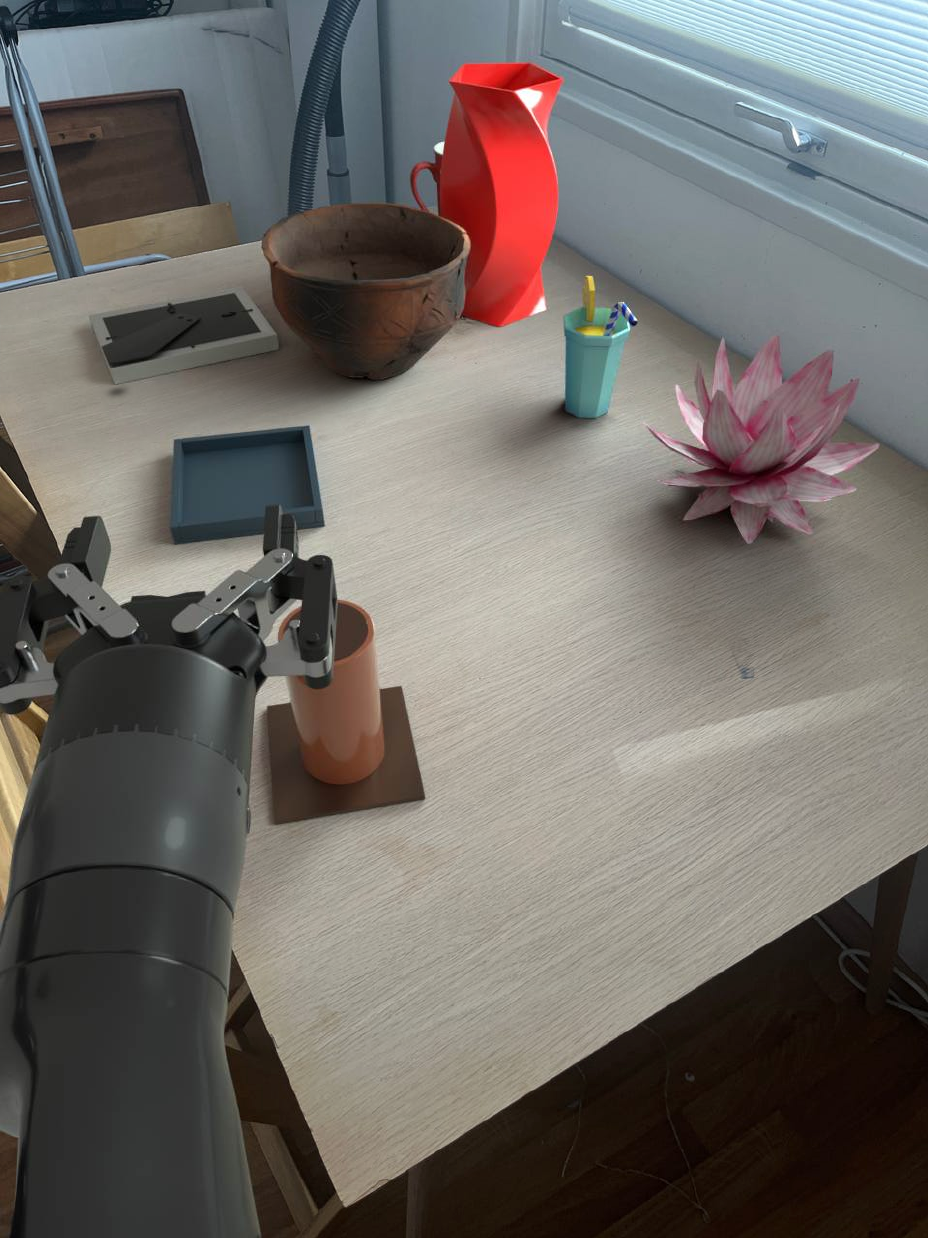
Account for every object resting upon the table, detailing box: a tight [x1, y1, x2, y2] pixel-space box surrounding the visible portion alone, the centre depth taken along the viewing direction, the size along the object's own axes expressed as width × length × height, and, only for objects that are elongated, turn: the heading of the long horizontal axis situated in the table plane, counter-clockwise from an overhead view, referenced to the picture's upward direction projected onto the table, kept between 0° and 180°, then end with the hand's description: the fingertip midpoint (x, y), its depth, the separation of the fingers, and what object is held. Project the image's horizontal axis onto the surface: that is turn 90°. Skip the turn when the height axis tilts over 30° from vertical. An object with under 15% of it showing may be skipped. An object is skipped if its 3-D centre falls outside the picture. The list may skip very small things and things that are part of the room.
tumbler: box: [277, 599, 385, 785], centre depth 63 cm, size 6×6×13 cm
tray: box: [169, 424, 326, 545], centre depth 91 cm, size 15×16×2 cm
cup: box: [562, 275, 639, 419], centre depth 98 cm, size 14×8×15 cm, turn 20°
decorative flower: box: [643, 333, 880, 544], centre depth 86 cm, size 21×21×15 cm
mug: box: [409, 140, 445, 216], centre depth 135 cm, size 13×9×14 cm
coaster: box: [266, 685, 426, 825], centre depth 68 cm, size 11×11×1 cm
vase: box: [440, 62, 564, 328], centre depth 114 cm, size 15×14×28 cm
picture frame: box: [88, 286, 280, 385], centre depth 114 cm, size 16×3×21 cm
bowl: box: [260, 202, 470, 381], centre depth 107 cm, size 25×25×15 cm
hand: (187, 524), depth 43 cm, fingers open, 8 cm apart
